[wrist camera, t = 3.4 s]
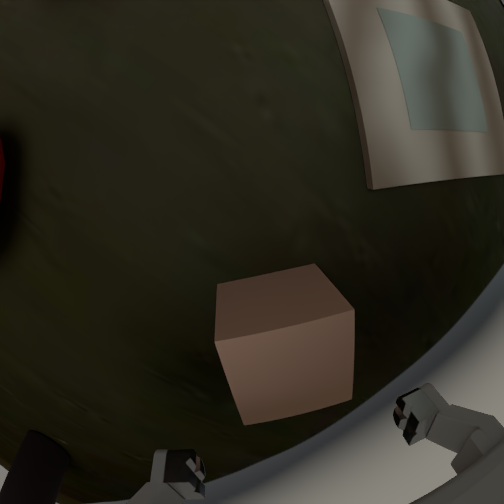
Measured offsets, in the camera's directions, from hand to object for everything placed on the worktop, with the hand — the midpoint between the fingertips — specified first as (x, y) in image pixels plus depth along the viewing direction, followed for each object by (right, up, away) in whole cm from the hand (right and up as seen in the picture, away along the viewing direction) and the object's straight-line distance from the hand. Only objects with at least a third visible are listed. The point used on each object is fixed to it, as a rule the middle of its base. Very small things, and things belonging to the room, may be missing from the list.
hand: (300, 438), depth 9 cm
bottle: (-29, -19, +13) cm, 37 cm away
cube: (0, +3, +9) cm, 10 cm away
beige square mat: (+11, +20, +5) cm, 24 cm away
